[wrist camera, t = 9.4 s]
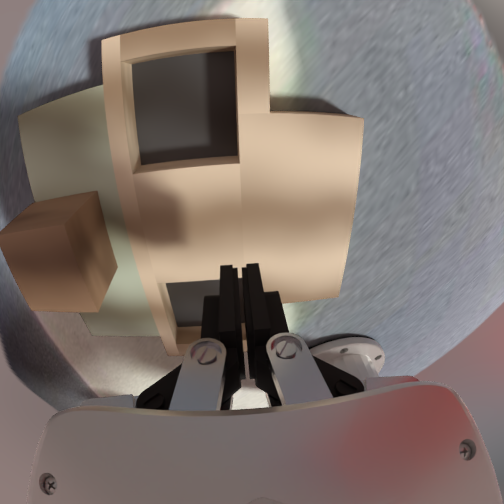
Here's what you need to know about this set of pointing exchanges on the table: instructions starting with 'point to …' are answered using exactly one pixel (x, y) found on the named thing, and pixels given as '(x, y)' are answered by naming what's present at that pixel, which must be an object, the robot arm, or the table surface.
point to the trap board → (198, 176)
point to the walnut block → (61, 254)
